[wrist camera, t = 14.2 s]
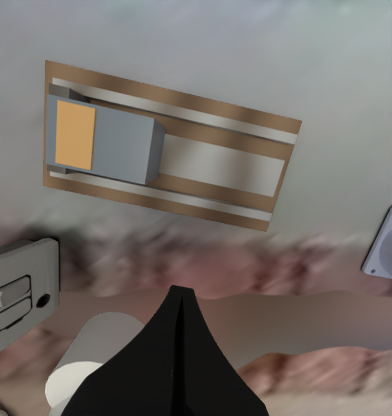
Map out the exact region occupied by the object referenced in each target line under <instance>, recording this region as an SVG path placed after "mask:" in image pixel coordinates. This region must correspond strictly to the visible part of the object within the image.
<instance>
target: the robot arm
mask: <svg viewBox="0 0 392 416" xmlns="http://www.w3.org/2000/svg"><path fill="white" fill-rule="evenodd" d="M371 270H372V271H371ZM362 271H363V272H364V273H365V274H369V275H374V276H379V277H384V278H389V279H392V208H391V209H390V211H389V213H388V215H387V217H386V219H385V221H384V224H383V226H382V228H381V230H380V232H379V234H378V236H377V238H376V240H375V242H374V244H373V246H372V249H371V251H370V253H369V255H368V257H367V259H366V261H365V263H364V265H363V267H362ZM171 373H172V376H171ZM60 416H269V414H268V411H267V409H266V406H265V404H264V403H263V402H262V401H261V400H260V399H259V398H258V397H257V395H256V394H255V393H254V392H253V391H252V390H251V389H250V388H249V387H248V386H247V385H246V383H245V382H244V381H243V380H242V379H241V377H240V376H239V375H238V374H237V373H236V371H235V370H234V369H233V367H232V366H231V365H230V363H229V362H228V360H227V359H226V357H225V356H224V355H223V353H222V351H221V350H220V348H219V347H218V345H217V343H216V342H215V340H214V338H213V336H212V335H211V333H210V331H209V329H208V327H207V325H206V322H205V320H204V318H203V316H202V313H201V311H200V308H199V306H198V303H197V300H196V296H195V293H194V290H193V289H192V288H186V287H181V286H176V285H172V286H171V287H170V290H169V292H168V294H167V296H166V298H165V300H164V301H163V303H162V304H161V306H160V308H159V309H158V310H157V312H156V313H155V314H154V316H153V317H152V318H151V319H150V321H149V322H148V323H147V324H146V326H145V327H144V328H143V329H142V330H141V331H140V332H139V333H138V334H137V335H136V336H135V337H134V338H133V339H132V340H131V341H130V342H129V343H128V344H127V345H126V346H125V347H124V348H123V349H121V350H120V351H119V352H118V353H117V354H116V355H114V356H113V357H112V358H111V359H110V360H108V361H107V362H106V363H104V364H103V365H102V366H100V367H99V368H98V369H96V370H95V371H94V372H92V373H91V374H89V375H88V376H87V377H86V378H85V379H84V380H83V382H82V383H81V384H80V386H79V387H78V388H77V390H76V391H75V393H74V394H73V396H72V397H71V399H70V400H69V402H68V403H67V405H66V406H65V408H64V410H63V412H62V414H61V415H60Z"/></svg>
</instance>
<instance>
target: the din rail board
mask: <svg viewBox="0 0 392 416" xmlns="http://www.w3.org/2000/svg"><path fill="white" fill-rule="evenodd" d="M47 94H50V95H55V96H59V97H63V98H68V99H72V100H76V101H81V102H85V103H89V104H94V105H98V106H102V107H107V108H111V109H115V110H120V111H124V112H129V113H133V114H137V115H142V116H146V117H150V118H155V119H156V120H157V121H158V122H159V123H160V124H161V125H162V126H163V127H164V128H165V129H166V131H165V137H164V143H163V149H162V155H161V161H160V168H159V174H158V178H156V179H154V180H153V181H151V182H149V183H147V184H145V185H144V184H139V183H134V182H130V181H125V180H120V179H115V178H111V177H106V176H101V175H97V174H92V173H87V172H82V171H78V170H73V169H68V168H63V167H59V166H54V165H49V164H46V124H47ZM301 123H302V121H300V120H296V119H291V118H287V117H283V116H279V115H275V114H270V113H266V112H262V111H258V110H254V109H249V108H245V107H241V106H237V105H233V104H228V103H224V102H220V101H216V100H212V99H207V98H203V97H199V96H195V95H191V94H186V93H182V92H178V91H174V90H170V89H165V88H161V87H157V86H153V85H149V84H144V83H140V82H136V81H132V80H128V79H123V78H119V77H115V76H111V75H107V74H102V73H98V72H94V71H90V70H86V69H81V68H77V67H73V66H69V65H65V64H60V63H56V62H52V61H48V60H45V105H44V160H43V186H46V187H51V188H56V189H61V190H65V191H70V192H75V193H80V194H85V195H90V196H95V197H100V198H104V199H109V200H114V201H119V202H124V203H129V204H134V205H139V206H143V207H148V208H153V209H158V210H163V211H168V212H173V213H177V214H182V215H187V216H192V217H197V218H202V219H207V220H212V221H216V222H221V223H226V224H231V225H236V226H241V227H246V228H251V229H255V230H260V231H265V232H266V231H267V228H268V225H269V222H270V220H271V217H272V212H273V209H274V206H275V203H276V200H277V197H278V194H279V191H280V188H281V185H282V182H283V178H284V175H285V172H286V169H287V166H288V163H289V160H290V157H291V154H292V151H293V148H294V145H295V143H296V140H297V137H298V132H299V129H300V126H301Z"/></svg>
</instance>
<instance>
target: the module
mask: <svg viewBox="0 0 392 416" xmlns="http://www.w3.org/2000/svg"><path fill="white" fill-rule="evenodd" d="M165 131H166V129H165V128H164V127H163V126H162V125H161V124H160V123H159V122H158V121H157V120H156V119H155V118H150V117H146V116H142V115H137V114H133V113H129V112H124V111H120V110H115V109H111V108H107V107H102V106H98V105H94V104H89V103H85V102H81V101H76V100H72V99H68V98H63V97H59V96H55V95H50V94H47V124H46V164H49V165H54V166H59V167H63V168H68V169H73V170H78V171H82V172H87V173H92V174H97V175H101V176H106V177H111V178H115V179H120V180H125V181H130V182H134V183H139V184H144V185H145V184H147V183H149V182H151V181H153V180H154V179H156V178H158V174H159V168H160V161H161V155H162V149H163V143H164V137H165Z"/></svg>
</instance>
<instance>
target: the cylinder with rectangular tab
mask: <svg viewBox="0 0 392 416" xmlns="http://www.w3.org/2000/svg"><path fill="white" fill-rule="evenodd" d="M144 327H145V326H144V325H143V324H142V323H141V322H140V321H139V320H137V319H136V318H134V317H132V316H130V315H127V314H125V313H119V312H105V313H101V314H97V315H95V316H94V317H92V318H90V319H89V320H88V321H87V322H86V323H85V324H84V326H83V327H82V329H81V330H80V332H79V333H78V335H77V336H76V338H75V339H74V341H73V342H72V344H71V345H70V347H69V348H68V350H67V351H66V353H65V354H64V356H63V357H62V359H61V360H60V362H59V363H58V365H57V366H56V368H55V369H54V371H53V372H52V374H51V375H50V377H49V379H48V381H47V383H46V389H45V395H46V398H47V401H48V403H49V405H50V406H51V407H52V409H51V411H50V413H49V414H48V416H60V415H61V414H62V412H63V410H64V408H65V406H66V405H67V403H68V402H69V400H70V399H71V397H72V396H73V394H74V393H75V391H76V390H77V388H78V387H79V386H80V384H81V383H82V382H83V380H84V379H85V378H86V377H87V376H88V375H89V374H91V373H92V372H94V371H95V370H96V369H98V368H99V367H100V366H102V365H103V364H104V363H106V362H107V361H108V360H110V359H111V358H112V357H113V356H114V355H116V354H117V353H118V352H119V351H120V350H121V349H123V348H124V347H125V346H126V345H127V344H128V343H129V342H130V341H131V340H132V339H133V338H134V337H135V336H136V335H137V334H138V333H139V332H140V331H141V330H142V329H143V328H144Z"/></svg>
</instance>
